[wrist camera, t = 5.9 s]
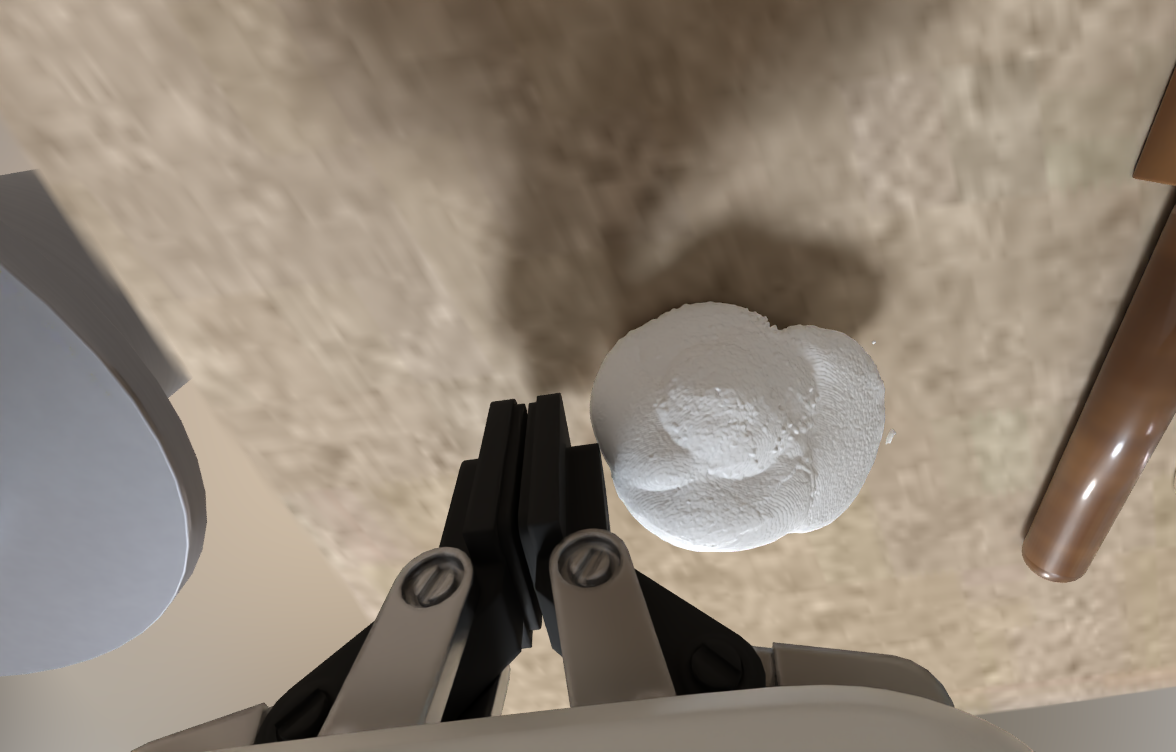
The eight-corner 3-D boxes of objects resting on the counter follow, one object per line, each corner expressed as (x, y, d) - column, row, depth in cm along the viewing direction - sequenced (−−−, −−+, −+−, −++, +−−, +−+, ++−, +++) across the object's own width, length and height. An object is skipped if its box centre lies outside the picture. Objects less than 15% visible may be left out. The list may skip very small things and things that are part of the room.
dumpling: (602, 466, 15) (583, 554, 11) (600, 291, 13) (575, 330, 10) (852, 478, 14) (918, 579, 10) (884, 292, 12) (978, 334, 9)
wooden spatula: (1073, 546, 18) (1117, 586, 16) (980, 558, 18) (1015, 599, 16) (1419, -113, 9) (1576, -148, 7) (1231, -83, 9) (1354, -112, 8)
